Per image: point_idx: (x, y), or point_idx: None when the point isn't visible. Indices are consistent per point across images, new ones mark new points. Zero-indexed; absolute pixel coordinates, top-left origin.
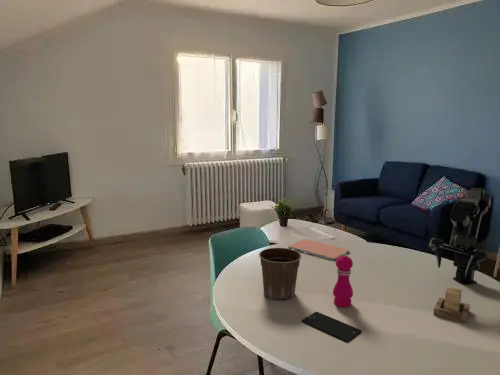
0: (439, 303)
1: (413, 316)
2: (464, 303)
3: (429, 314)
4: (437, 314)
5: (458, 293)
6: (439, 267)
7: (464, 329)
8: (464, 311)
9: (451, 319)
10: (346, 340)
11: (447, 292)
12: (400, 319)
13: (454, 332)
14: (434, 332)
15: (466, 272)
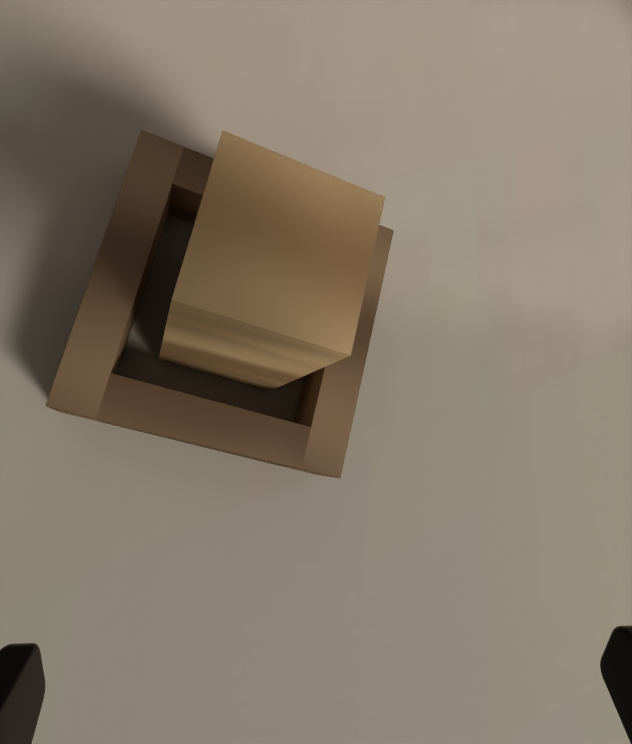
0: None
1: (487, 199)
2: (103, 415)
3: (393, 253)
4: None
5: (236, 165)
6: (619, 628)
7: (168, 70)
8: (139, 224)
9: None
10: None
11: (360, 194)
12: (550, 145)
13: (247, 22)
14: (371, 13)
15: (7, 698)
